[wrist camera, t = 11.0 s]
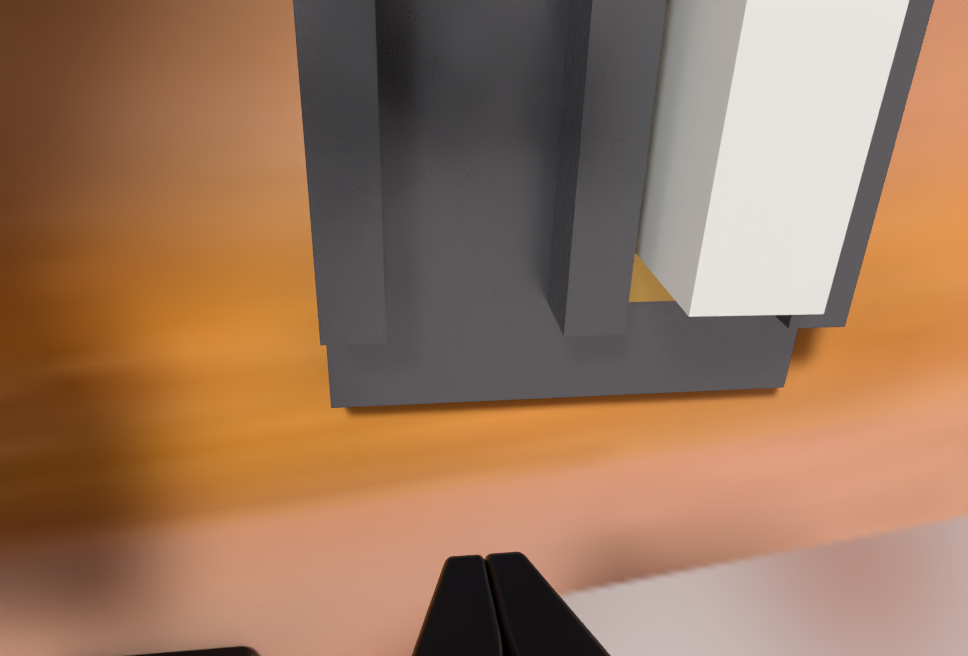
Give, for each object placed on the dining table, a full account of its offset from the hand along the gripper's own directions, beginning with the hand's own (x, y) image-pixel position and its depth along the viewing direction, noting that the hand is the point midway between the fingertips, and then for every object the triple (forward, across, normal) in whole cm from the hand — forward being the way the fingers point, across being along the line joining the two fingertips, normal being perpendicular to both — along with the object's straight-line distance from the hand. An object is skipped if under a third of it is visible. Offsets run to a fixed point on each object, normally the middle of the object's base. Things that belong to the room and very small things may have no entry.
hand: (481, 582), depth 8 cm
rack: (+12, -4, -3) cm, 13 cm away
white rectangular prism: (+11, -7, -3) cm, 14 cm away
